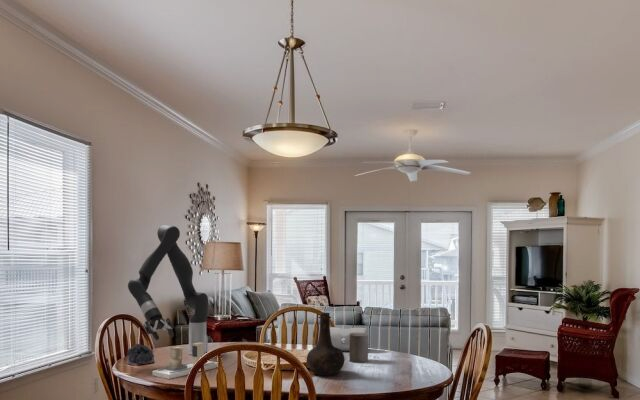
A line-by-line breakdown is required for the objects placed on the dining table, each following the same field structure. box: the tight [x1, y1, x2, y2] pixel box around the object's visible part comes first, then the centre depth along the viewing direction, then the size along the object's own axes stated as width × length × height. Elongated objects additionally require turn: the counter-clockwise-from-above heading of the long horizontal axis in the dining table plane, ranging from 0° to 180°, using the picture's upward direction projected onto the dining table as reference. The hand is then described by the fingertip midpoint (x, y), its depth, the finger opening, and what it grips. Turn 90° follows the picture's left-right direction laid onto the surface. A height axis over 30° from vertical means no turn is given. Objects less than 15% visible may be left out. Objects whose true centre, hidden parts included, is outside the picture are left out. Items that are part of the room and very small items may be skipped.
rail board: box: [152, 342, 218, 380], centre depth 275 cm, size 30×12×12 cm, turn 142°
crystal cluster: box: [126, 343, 155, 366], centre depth 294 cm, size 13×14×10 cm
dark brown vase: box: [306, 312, 345, 376], centre depth 270 cm, size 18×18×28 cm
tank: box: [330, 326, 370, 352], centre depth 322 cm, size 25×16×12 cm, turn 81°
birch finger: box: [169, 346, 183, 368], centre depth 270 cm, size 4×4×10 cm
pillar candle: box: [348, 331, 369, 364], centre depth 296 cm, size 10×10×15 cm
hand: (165, 337), depth 277 cm, fingers open, 8 cm apart
